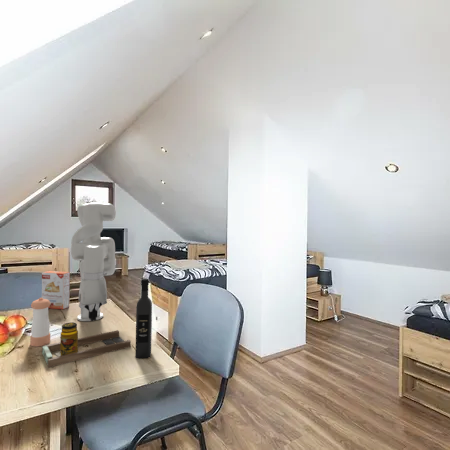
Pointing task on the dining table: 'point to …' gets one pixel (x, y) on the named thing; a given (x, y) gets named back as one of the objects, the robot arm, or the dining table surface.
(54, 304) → the cracker box
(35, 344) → the pepper shaker
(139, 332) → the wine bottle
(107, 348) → the trap lane
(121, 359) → the dining table surface
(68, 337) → the condiment
